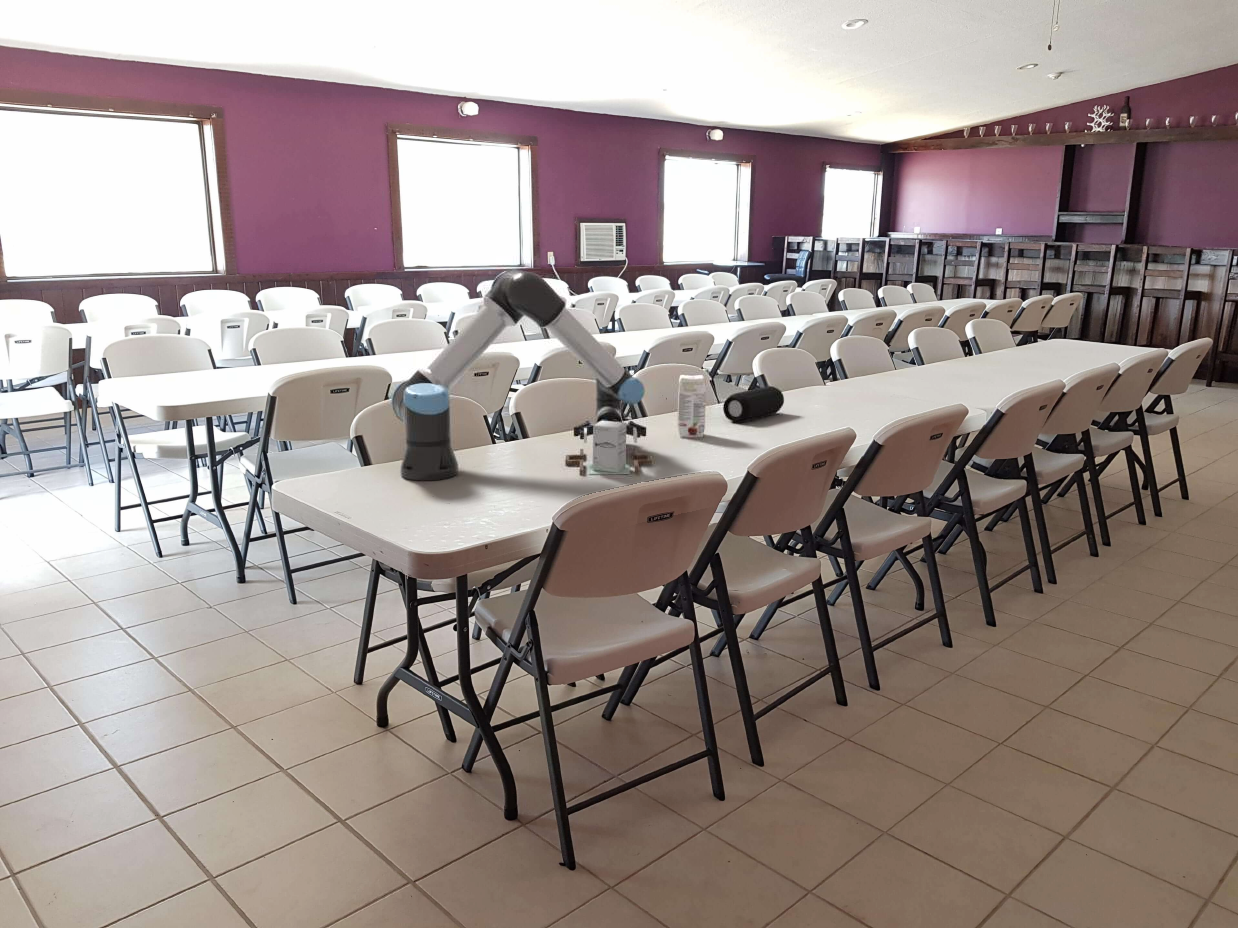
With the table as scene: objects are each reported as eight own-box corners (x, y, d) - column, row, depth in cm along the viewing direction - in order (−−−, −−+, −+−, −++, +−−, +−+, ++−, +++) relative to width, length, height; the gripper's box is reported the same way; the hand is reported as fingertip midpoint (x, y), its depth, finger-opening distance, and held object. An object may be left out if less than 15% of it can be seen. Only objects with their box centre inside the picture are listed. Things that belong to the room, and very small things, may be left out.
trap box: (564, 475, 252) (564, 469, 252) (566, 453, 276) (566, 448, 275) (654, 475, 253) (654, 469, 253) (648, 453, 277) (648, 448, 276)
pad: (588, 474, 253) (588, 473, 253) (588, 465, 263) (588, 464, 263) (630, 474, 254) (630, 473, 254) (628, 465, 263) (628, 464, 263)
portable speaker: (761, 411, 341) (763, 383, 338) (785, 414, 334) (787, 386, 332) (720, 421, 322) (721, 392, 320) (744, 425, 316) (745, 396, 313)
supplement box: (591, 470, 256) (591, 425, 253) (601, 464, 263) (601, 419, 260) (617, 473, 254) (617, 427, 250) (626, 466, 260) (627, 421, 257)
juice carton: (705, 438, 297) (706, 378, 292) (677, 438, 297) (679, 378, 292) (703, 433, 304) (705, 374, 299) (676, 432, 304) (678, 374, 299)
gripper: (651, 434, 278) (656, 451, 257) (566, 434, 277) (564, 451, 257) (651, 409, 276) (656, 424, 255) (566, 409, 275) (564, 424, 255)
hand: (610, 437), depth 256 cm, fingers open, 13 cm apart
